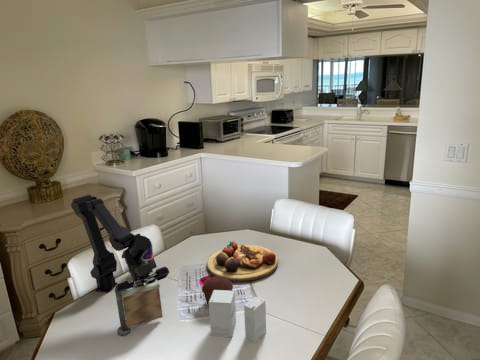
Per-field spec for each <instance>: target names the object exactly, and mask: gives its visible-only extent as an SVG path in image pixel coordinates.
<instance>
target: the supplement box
mask: <svg viewBox="0 0 480 360" xmlns="http://www.w3.org/2000/svg"><path fill="white" fill-rule="evenodd" d="M235 293H236V292H235V290H232V291H228V290H214V291H213V293H212V295H211V298H210V300H209V307H208V312H209V313H208V314H209V325H210V326H209V327H210V335H211V336H213V337H223V338H232V337H233V336H234V331H235V327H236V325H237V312H236V310H237V309H236V295H235Z"/></svg>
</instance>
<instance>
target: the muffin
mask: <svg viewBox="0 0 480 360" xmlns="http://www.w3.org/2000/svg"><path fill="white" fill-rule="evenodd" d="M233 289H234V285H233V283H232V281H230V280H229V279H228V278H226V277H223V276H212V277H210V278H208V279H207V280H206V281H205V282H204V284H203V285H202V286H201V292H202V293H203V295H204V298H205V303H206V307H208V308H209V300H210V298H211V295H212V293H213V291H214V290H228V291H233Z"/></svg>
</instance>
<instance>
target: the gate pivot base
mask: <svg viewBox="0 0 480 360" xmlns="http://www.w3.org/2000/svg"><path fill="white" fill-rule="evenodd" d="M126 326H127V325H126ZM116 332H117V335H118V336H119V337H126V336H128V335H130V334H131V332H132V327H130V328H127V329H125V330H121V326H119V327H118V328H117V330H116Z"/></svg>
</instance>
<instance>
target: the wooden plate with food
mask: <svg viewBox="0 0 480 360" xmlns="http://www.w3.org/2000/svg"><path fill="white" fill-rule="evenodd" d="M206 263H207V264H206V268H207V271H208V272H209V273H210V275H211V276H213V275H214V276H223V277H226V278H228V279H229V280H230V281H231V282H232V281H233V282H234V283H242V282H243V281H245V282H252V281H257V280H260V279H263V278H265V277H267V276H269V275H270V274H272V273H273V272H274V271H275V270H276V269H277V267H278V265H279V259H278V256H277V255H276V253H275V252H274V251H273V250H270V249H268V248H266V247H264V246H260V245H253V244H252V245H251V244H241V245H238V243H236V241H234V240H233V241H229V243H228V244H227V245H226V246H225V247H224V248H221V249H220V250H218V251H217V252H215V253H213V254H211V256H210V257H209V258H208V260H207V261H206ZM214 276H213V277H214Z"/></svg>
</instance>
